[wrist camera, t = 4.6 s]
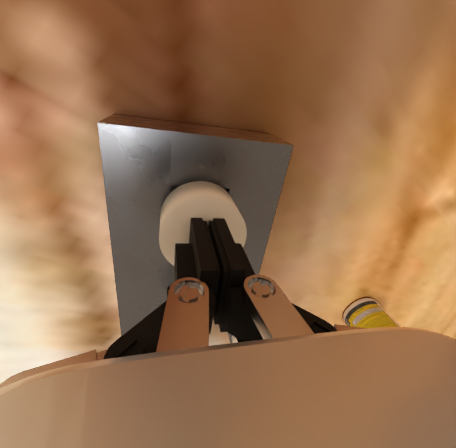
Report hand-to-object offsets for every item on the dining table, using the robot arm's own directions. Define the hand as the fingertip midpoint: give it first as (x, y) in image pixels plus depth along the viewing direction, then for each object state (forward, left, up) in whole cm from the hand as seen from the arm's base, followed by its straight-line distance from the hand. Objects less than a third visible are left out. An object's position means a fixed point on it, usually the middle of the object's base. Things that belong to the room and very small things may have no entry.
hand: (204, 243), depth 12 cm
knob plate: (+4, +6, -7) cm, 10 cm away
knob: (0, 0, -6) cm, 6 cm away
